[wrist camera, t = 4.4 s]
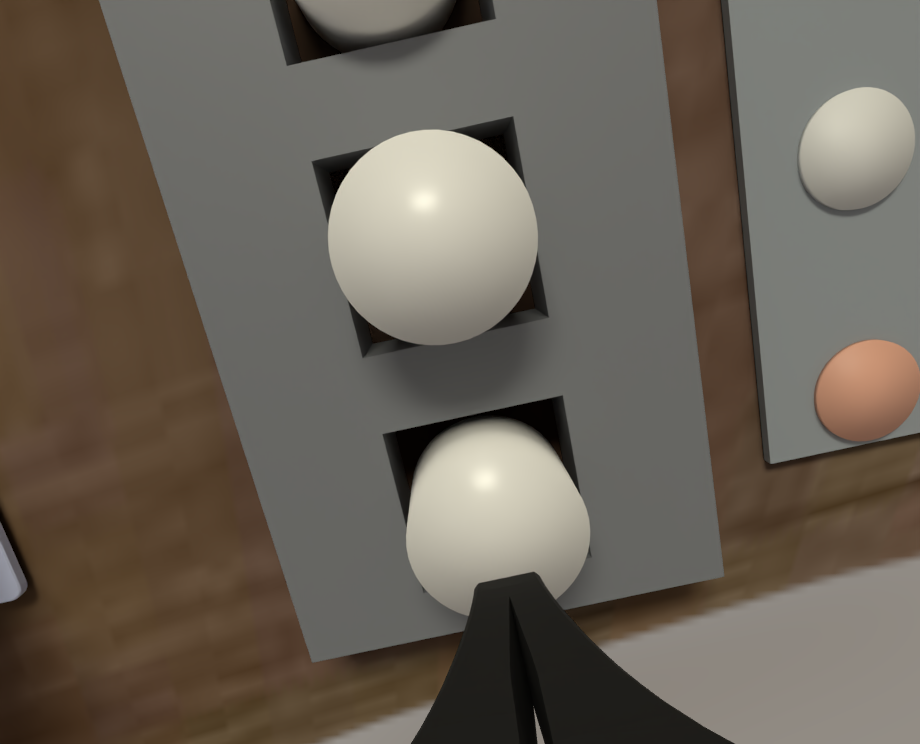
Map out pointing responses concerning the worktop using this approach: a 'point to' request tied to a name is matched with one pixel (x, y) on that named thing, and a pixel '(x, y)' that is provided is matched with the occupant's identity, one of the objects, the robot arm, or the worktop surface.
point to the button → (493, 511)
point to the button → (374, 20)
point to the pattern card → (829, 215)
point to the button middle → (432, 237)
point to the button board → (433, 366)
